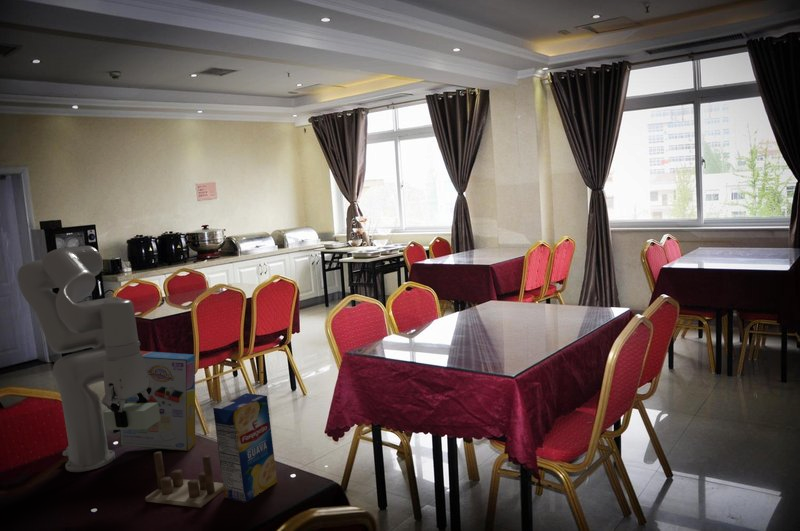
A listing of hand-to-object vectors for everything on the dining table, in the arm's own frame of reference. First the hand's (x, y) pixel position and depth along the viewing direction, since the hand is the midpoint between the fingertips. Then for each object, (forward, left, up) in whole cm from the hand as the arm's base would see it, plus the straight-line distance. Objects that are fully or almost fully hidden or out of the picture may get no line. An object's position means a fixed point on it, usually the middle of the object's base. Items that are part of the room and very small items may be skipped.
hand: (133, 420), depth 153 cm
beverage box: (+28, +5, -18) cm, 34 cm away
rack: (+13, 0, -18) cm, 22 cm away
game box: (-15, +22, -17) cm, 31 cm away
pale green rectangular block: (0, 0, -1) cm, 1 cm away
